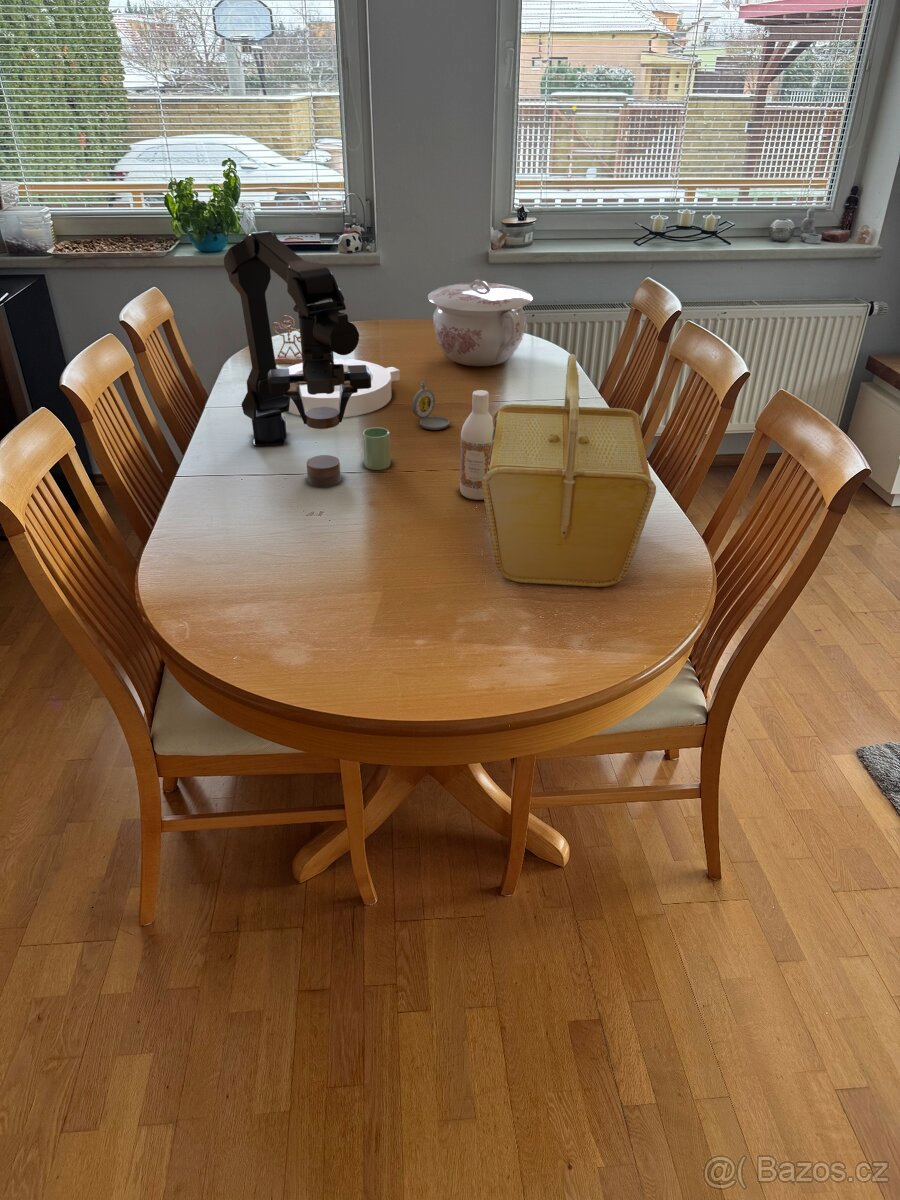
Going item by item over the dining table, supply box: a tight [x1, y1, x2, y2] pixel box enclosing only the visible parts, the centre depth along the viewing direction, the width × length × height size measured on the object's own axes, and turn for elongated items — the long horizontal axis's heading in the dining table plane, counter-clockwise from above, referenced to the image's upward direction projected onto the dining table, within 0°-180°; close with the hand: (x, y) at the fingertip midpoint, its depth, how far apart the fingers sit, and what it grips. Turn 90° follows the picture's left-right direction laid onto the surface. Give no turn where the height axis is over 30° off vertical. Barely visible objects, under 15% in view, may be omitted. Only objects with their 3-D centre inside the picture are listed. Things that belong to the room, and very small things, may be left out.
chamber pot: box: [427, 279, 534, 368], centre depth 232 cm, size 28×28×21 cm
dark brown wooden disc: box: [305, 407, 341, 430], centre depth 167 cm, size 6×6×2 cm
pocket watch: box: [411, 377, 450, 431], centre depth 196 cm, size 8×8×10 cm
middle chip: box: [306, 454, 341, 478], centre depth 172 cm, size 6×6×2 cm
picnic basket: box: [482, 353, 657, 588], centre depth 143 cm, size 29×26×30 cm
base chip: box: [307, 471, 342, 488], centre depth 173 cm, size 6×6×2 cm
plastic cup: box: [362, 427, 391, 471], centre depth 178 cm, size 5×5×7 cm
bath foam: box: [459, 389, 494, 501], centre depth 164 cm, size 7×7×20 cm
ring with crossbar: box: [284, 358, 401, 418], centre depth 212 cm, size 28×28×5 cm
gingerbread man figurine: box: [272, 314, 302, 365], centre depth 232 cm, size 9×4×12 cm, turn 85°
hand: (322, 422), depth 167 cm, fingers closed on dark brown wooden disc, 6 cm apart
